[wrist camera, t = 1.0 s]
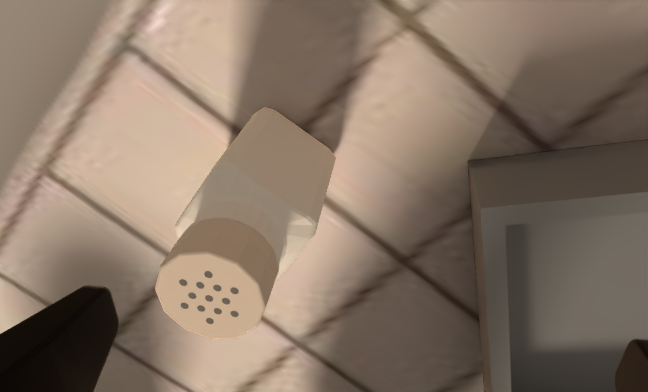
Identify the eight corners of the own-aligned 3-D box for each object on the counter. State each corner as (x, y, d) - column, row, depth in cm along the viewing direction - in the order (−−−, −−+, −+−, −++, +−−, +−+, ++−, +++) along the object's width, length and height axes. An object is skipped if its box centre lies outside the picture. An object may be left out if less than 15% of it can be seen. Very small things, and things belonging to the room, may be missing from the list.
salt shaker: (220, 164, 23) (118, 303, 15) (265, 96, 21) (178, 210, 13) (292, 213, 24) (234, 371, 15) (342, 151, 22) (307, 293, 14)
